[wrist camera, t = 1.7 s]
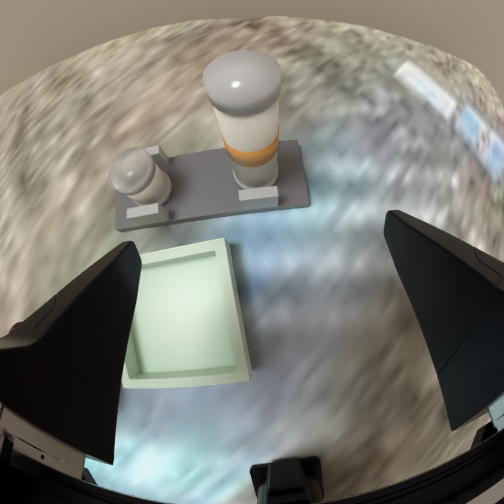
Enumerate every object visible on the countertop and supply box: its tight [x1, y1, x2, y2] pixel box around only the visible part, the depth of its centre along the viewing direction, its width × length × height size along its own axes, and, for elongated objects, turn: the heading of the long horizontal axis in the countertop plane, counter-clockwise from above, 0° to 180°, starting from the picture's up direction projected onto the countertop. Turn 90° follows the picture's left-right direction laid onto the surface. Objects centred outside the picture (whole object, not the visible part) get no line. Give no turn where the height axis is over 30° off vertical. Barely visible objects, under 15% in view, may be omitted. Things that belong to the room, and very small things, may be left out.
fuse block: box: [116, 140, 309, 232], centre depth 22 cm, size 6×17×4 cm, turn 96°
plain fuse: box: [108, 147, 173, 206], centre depth 20 cm, size 4×4×5 cm
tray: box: [122, 238, 252, 388], centre depth 21 cm, size 11×11×3 cm
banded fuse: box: [203, 50, 281, 190], centre depth 17 cm, size 4×4×12 cm
